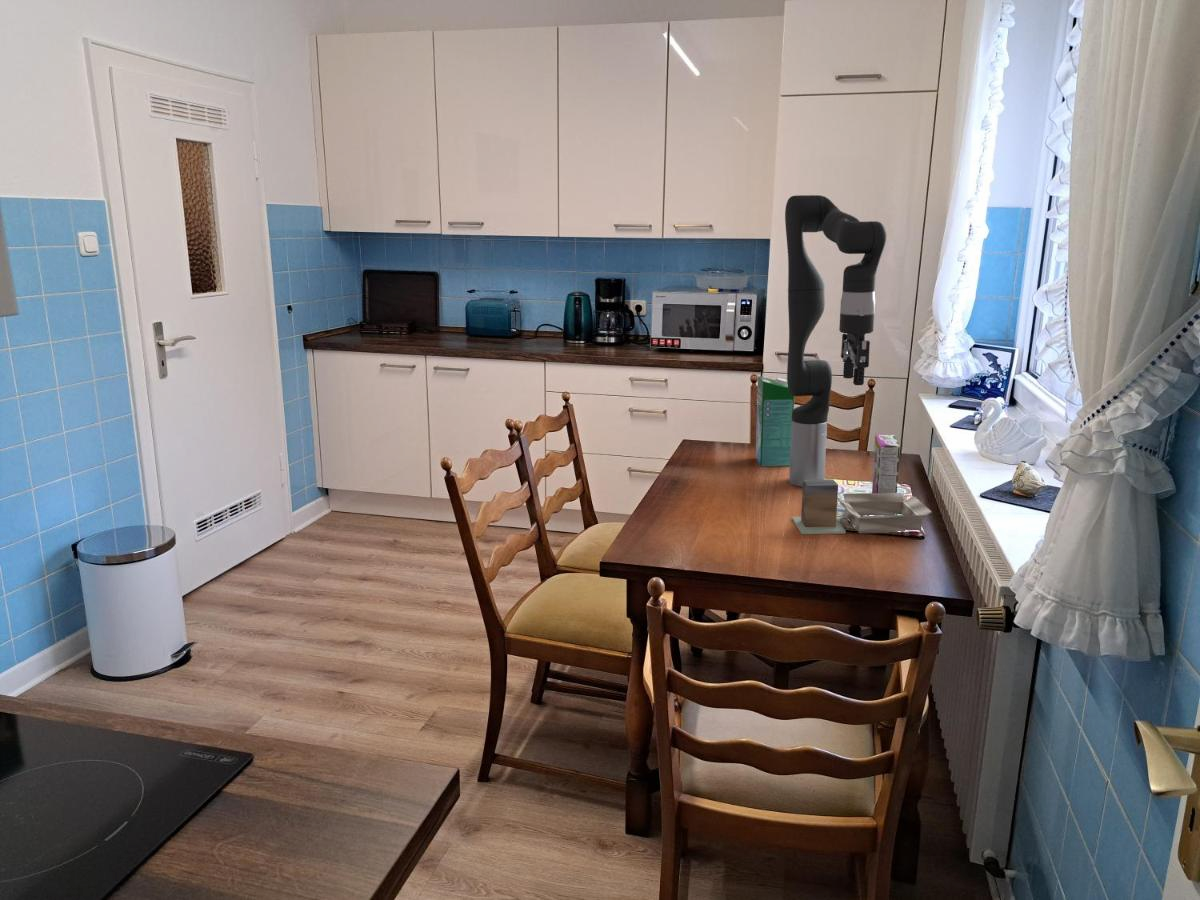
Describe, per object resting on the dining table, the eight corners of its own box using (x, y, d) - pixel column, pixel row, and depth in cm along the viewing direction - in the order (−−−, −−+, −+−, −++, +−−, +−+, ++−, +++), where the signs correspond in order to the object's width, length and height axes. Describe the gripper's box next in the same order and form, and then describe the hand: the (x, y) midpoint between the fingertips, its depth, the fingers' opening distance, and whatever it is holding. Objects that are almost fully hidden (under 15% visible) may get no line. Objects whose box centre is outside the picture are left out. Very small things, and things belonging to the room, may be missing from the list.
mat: (792, 519, 203) (792, 516, 203) (834, 518, 203) (834, 516, 203) (801, 534, 193) (801, 531, 193) (845, 533, 193) (845, 531, 193)
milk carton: (791, 466, 247) (795, 380, 240) (760, 466, 247) (763, 381, 241) (785, 457, 256) (788, 375, 249) (755, 458, 256) (757, 375, 249)
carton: (832, 512, 207) (833, 493, 206) (909, 511, 207) (910, 492, 206) (851, 537, 191) (853, 516, 190) (934, 535, 191) (936, 515, 190)
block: (800, 520, 200) (802, 479, 198) (830, 520, 200) (833, 479, 198) (805, 527, 196) (807, 485, 193) (835, 526, 196) (838, 485, 193)
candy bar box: (870, 495, 219) (874, 433, 215) (890, 496, 218) (895, 434, 214) (874, 509, 209) (879, 445, 204) (896, 510, 208) (901, 445, 203)
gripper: (832, 308, 202) (829, 376, 206) (849, 315, 188) (845, 387, 193) (864, 308, 202) (860, 376, 206) (883, 314, 188) (878, 387, 193)
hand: (853, 381), depth 199 cm, fingers open, 8 cm apart
